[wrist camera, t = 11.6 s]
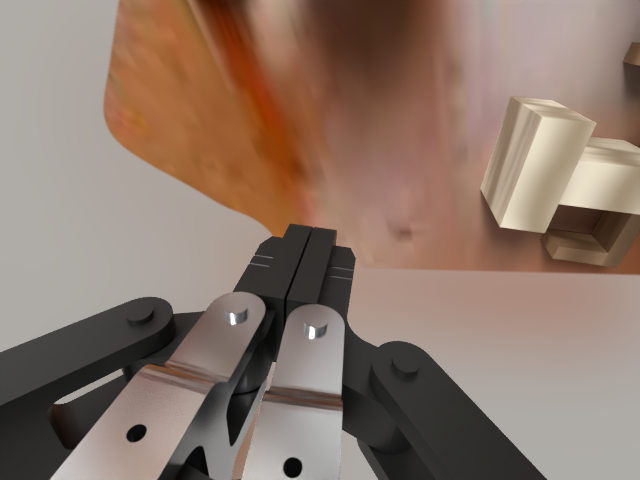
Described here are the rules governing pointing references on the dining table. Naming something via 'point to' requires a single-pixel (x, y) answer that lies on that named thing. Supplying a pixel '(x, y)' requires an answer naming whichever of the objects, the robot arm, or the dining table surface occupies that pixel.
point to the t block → (556, 166)
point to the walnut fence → (598, 227)
